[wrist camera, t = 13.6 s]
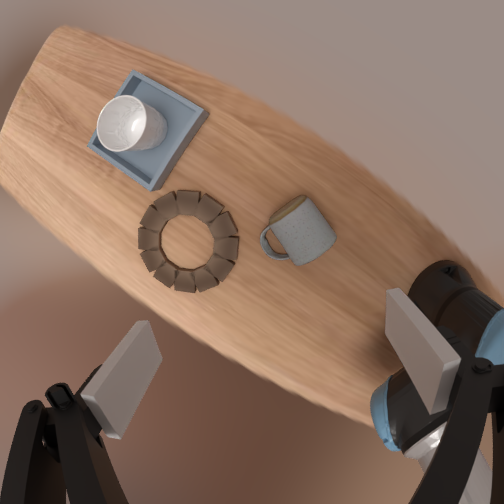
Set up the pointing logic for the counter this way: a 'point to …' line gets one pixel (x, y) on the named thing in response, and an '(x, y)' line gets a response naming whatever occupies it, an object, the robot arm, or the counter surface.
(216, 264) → the holder ring
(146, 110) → the white cup
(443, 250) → the counter surface
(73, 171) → the counter surface
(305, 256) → the ceramic mug
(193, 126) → the bin
